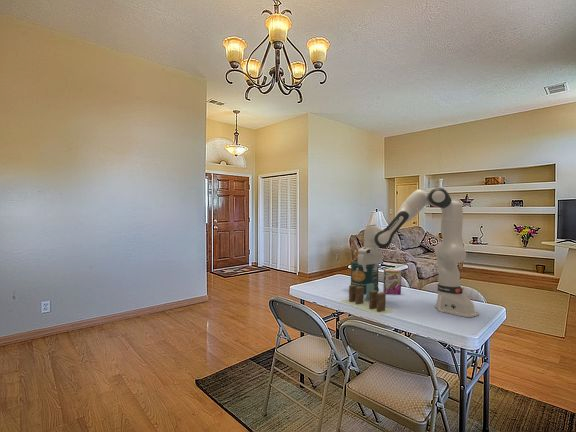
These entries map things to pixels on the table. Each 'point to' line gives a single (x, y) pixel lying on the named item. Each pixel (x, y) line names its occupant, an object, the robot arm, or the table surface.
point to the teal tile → (369, 289)
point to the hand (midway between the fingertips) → (370, 270)
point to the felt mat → (367, 307)
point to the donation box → (364, 275)
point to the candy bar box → (392, 281)
